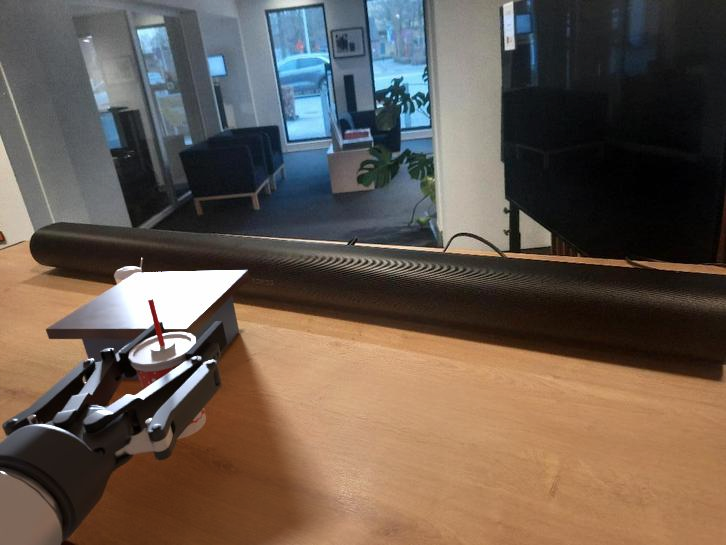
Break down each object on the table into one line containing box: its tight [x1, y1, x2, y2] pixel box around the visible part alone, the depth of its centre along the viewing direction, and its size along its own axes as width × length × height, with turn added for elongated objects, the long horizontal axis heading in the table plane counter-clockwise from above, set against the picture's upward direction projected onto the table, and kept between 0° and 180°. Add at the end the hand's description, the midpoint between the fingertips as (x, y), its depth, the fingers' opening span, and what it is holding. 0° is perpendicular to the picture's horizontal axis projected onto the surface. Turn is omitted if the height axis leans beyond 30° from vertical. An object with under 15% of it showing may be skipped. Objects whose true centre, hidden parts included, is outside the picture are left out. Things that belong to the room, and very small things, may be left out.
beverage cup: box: [128, 298, 207, 440], centre depth 48 cm, size 6×6×14 cm
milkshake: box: [113, 257, 144, 285], centre depth 88 cm, size 5×5×10 cm
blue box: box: [81, 295, 240, 380], centre depth 73 cm, size 16×14×8 cm
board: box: [45, 269, 250, 340], centre depth 72 cm, size 20×20×2 cm
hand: (191, 333), depth 52 cm, fingers closed on beverage cup, 6 cm apart
